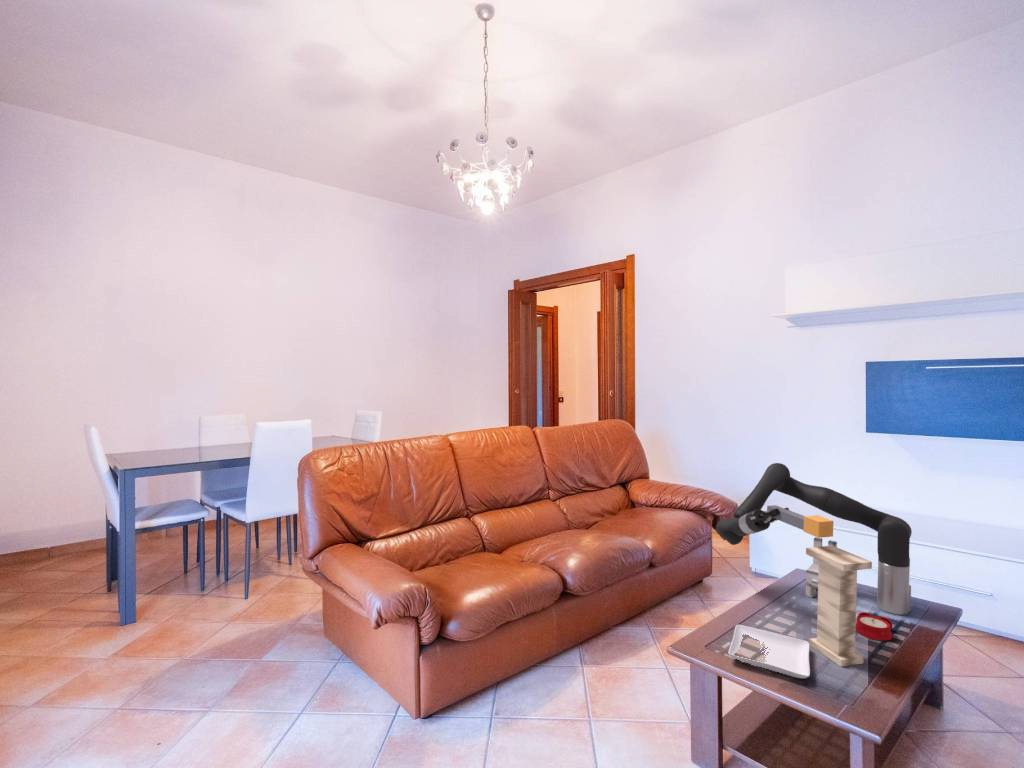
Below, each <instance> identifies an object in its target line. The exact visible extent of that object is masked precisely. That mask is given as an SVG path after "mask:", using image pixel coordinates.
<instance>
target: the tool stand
mask: <svg viewBox="0 0 1024 768" xmlns="http://www.w3.org/2000/svg"><path fill="white" fill-rule="evenodd" d="M805 555H807V556H809V557H812V559H813V558H815V559H818V560H819V573H818V592H817V621H816V625H817V626H816V627H817V628H816V637H812V638H809V639H808V642H809V645H810V647H812V648H813V649H815V650H816V651H817V652H819V653H821V655H823V656H825V657H826V658H828V659H829V660H831V661H832V662H834V663H835V664H837V665H838V666H839V667H848V666H855V665H860V664H864V659H865V658H864V656H863V655H861V654H860V653H859V652H856V622H857V593H858V592H857V590H858V589H857V588H858V587H857V586H858V584H857V583H858V571H862V570H870V569H871V570H872V569H873V568H872V567H873V562H872V561H870V560H869V559H866V558H863V557H862V556H858V555H856V554H854V553H851V552H849V551H847V550H844V549H841V548H839V547H838V546H837V547H835V546H828V545H824V546H823V545H822V547H814V546H813V547H812V546H811V547H805Z"/></svg>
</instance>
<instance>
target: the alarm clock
mask: <svg viewBox="0 0 1024 768" xmlns="http://www.w3.org/2000/svg"><path fill="white" fill-rule="evenodd" d="M892 629H893V623H892V621H891V620H890V619H889V618H888V617H884V616H882V617H881V616H880V617H879V616H875V615H871V614H870V613H868V612H866V611H862V612H859V613H858V615H856V630H855V632H857V633H858V634H859V635H861V636H864V637H866V638H869V640H872V641H874V640H876V641H883V642H884V641H885V642H887V641H891V640H892V639H893V637H894V636H893V633H892V631H891V630H892Z"/></svg>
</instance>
